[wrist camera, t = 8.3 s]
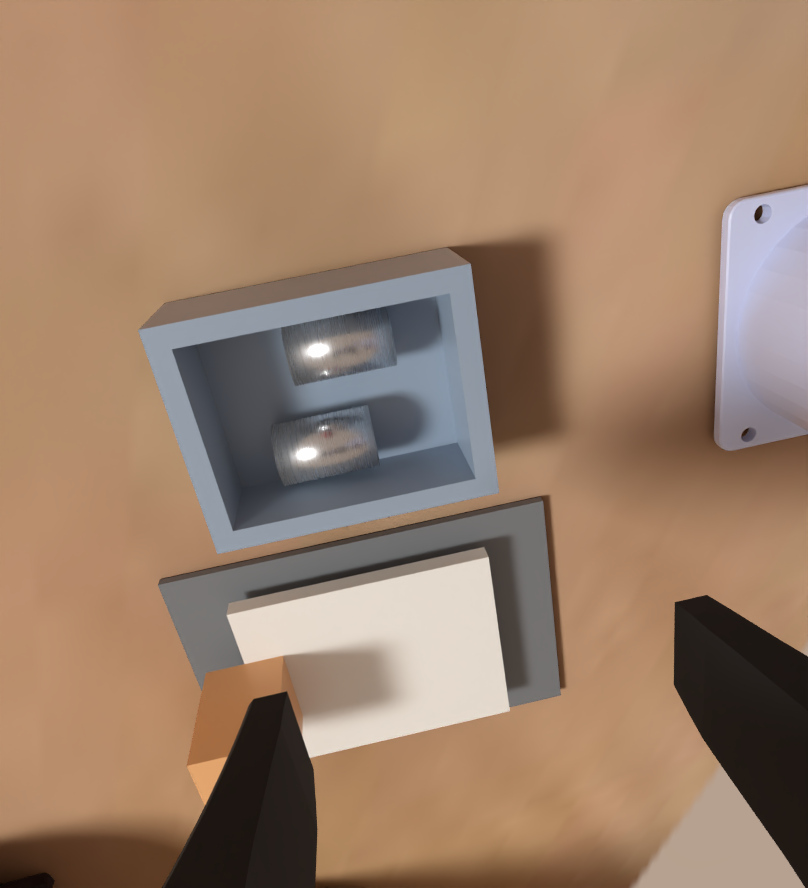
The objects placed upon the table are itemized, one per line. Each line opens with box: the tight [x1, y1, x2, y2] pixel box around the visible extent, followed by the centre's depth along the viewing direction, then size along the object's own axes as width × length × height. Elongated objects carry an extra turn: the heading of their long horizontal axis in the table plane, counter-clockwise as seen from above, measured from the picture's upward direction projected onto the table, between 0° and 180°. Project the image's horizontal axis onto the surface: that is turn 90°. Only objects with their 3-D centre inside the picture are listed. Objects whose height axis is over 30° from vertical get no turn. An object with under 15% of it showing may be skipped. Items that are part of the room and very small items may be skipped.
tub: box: [138, 247, 499, 554], centre depth 18 cm, size 8×6×3 cm
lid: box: [187, 547, 510, 805], centre depth 21 cm, size 10×7×5 cm
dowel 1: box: [281, 306, 397, 386], centre depth 17 cm, size 3×2×2 cm, turn 100°
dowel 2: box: [271, 405, 381, 486], centre depth 19 cm, size 3×2×2 cm, turn 100°
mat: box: [158, 497, 561, 707], centre depth 23 cm, size 13×9×1 cm
